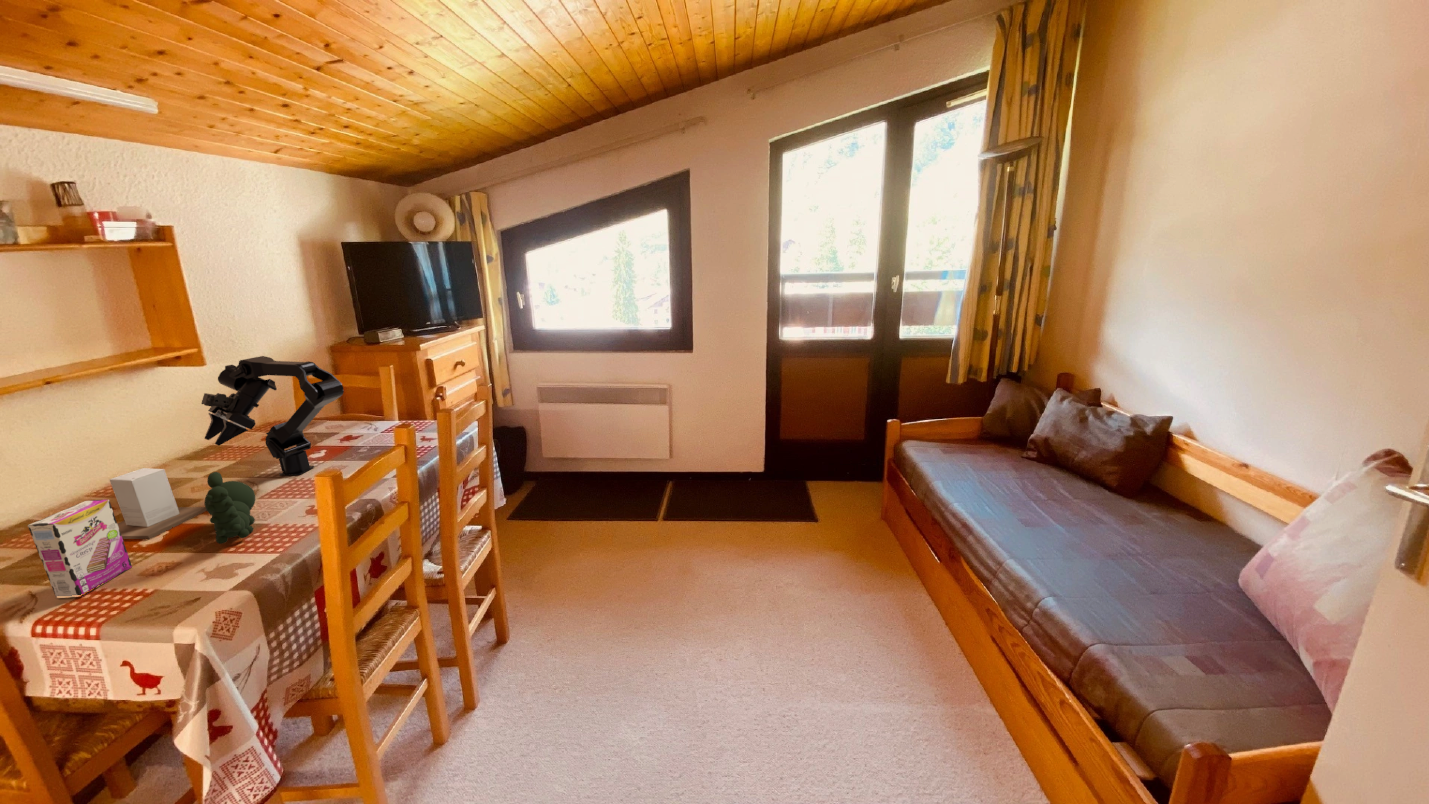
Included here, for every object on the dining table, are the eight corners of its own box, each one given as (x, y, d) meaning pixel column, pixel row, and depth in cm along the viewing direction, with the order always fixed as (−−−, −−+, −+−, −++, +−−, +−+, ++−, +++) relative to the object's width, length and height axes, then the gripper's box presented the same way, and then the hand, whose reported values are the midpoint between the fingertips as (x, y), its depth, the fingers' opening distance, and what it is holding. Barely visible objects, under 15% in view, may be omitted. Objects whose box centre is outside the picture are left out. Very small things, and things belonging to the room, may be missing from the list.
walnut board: (207, 510, 145) (206, 506, 145) (149, 539, 130) (148, 535, 130) (153, 511, 145) (152, 507, 145) (89, 540, 131) (88, 536, 131)
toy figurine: (262, 548, 128) (261, 504, 146) (240, 476, 121) (241, 439, 140) (209, 563, 122) (214, 515, 140) (182, 489, 116) (192, 448, 134)
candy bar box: (83, 598, 108) (52, 523, 104) (55, 600, 108) (24, 525, 103) (135, 566, 119) (110, 498, 114) (111, 568, 119) (84, 499, 114)
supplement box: (181, 513, 141) (165, 468, 138) (146, 527, 134) (129, 480, 131) (159, 511, 143) (144, 467, 139) (124, 525, 136) (107, 478, 132)
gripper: (208, 378, 162) (169, 423, 156) (230, 385, 152) (189, 434, 146) (248, 397, 170) (212, 441, 164) (271, 405, 160) (234, 452, 154)
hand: (211, 442), depth 157 cm, fingers open, 9 cm apart
